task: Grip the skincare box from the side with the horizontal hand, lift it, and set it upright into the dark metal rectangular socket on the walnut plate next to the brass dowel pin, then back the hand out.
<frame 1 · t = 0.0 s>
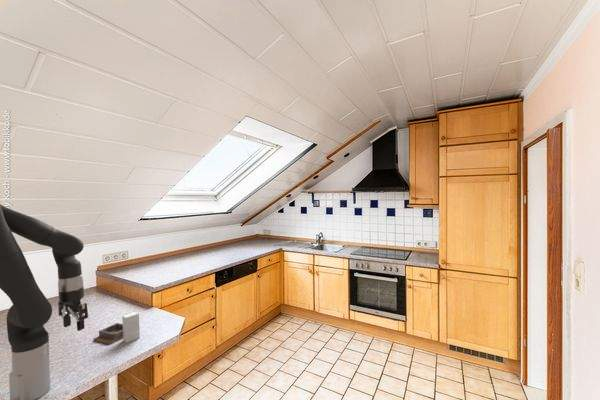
hand: (74, 328, 106), 17 cm above the counter, tool pointing down, fingers open, 8 cm apart
locating plate: (115, 335, 134), on the counter
skincare box: (131, 339, 130), on the counter
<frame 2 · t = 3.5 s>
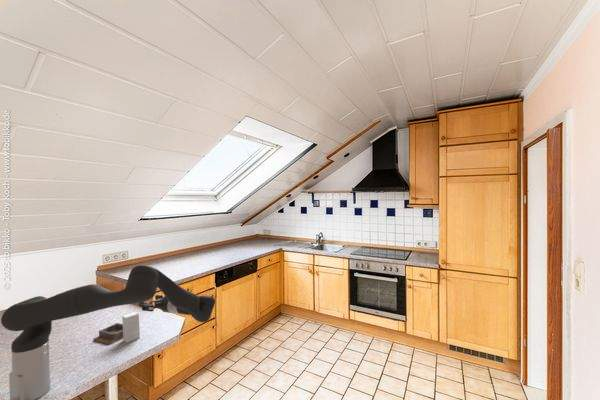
hand: (148, 300, 126), 20 cm above the counter, tool horizontal, fingers open, 8 cm apart
nothing on the counter moved.
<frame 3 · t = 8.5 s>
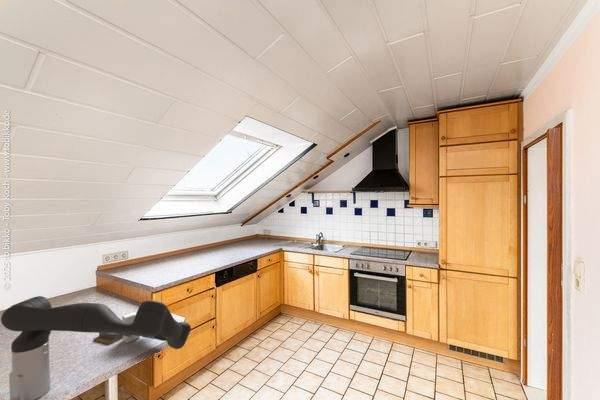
hand: (127, 324, 131), 7 cm above the counter, tool horizontal, fingers closed on skincare box, 7 cm apart
skincare box: (131, 339, 130), on the counter, touching gripper
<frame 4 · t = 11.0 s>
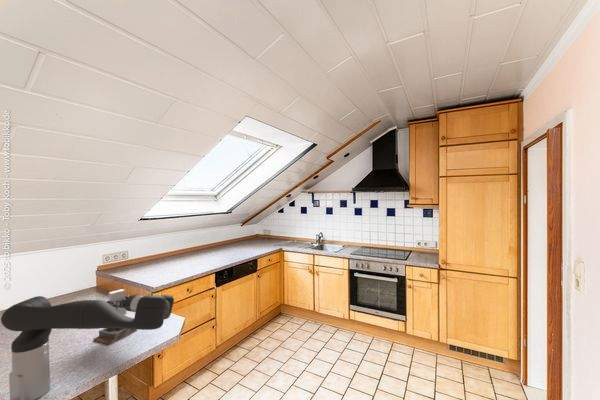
hand: (114, 300, 134), 17 cm above the counter, tool horizontal, fingers closed on skincare box, 7 cm apart
skincare box: (118, 315, 133), point 10 cm above the counter, touching gripper
when the fingers open (10 cm above the counter, at t = 14.0 s): skincare box stays where it is, resting on locating plate.
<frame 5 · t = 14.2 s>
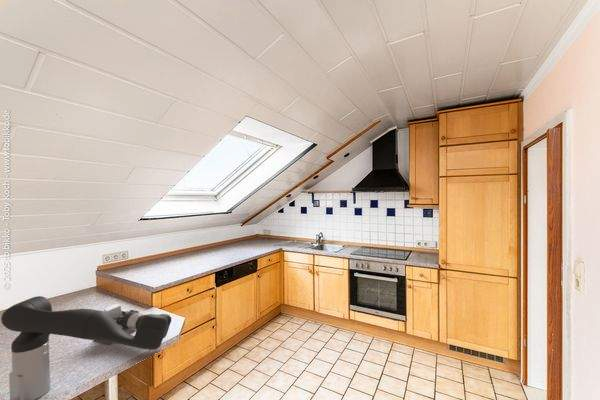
hand: (111, 316, 134), 9 cm above the counter, tool horizontal, fingers open, 8 cm apart
skincare box: (116, 329, 134), point 3 cm above the counter, touching gripper, locating plate
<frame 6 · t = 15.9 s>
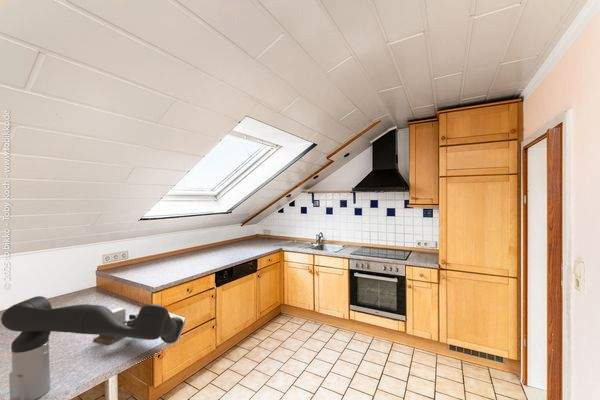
hand: (121, 320, 132), 8 cm above the counter, tool horizontal, fingers open, 8 cm apart
skincare box: (117, 333, 134), point 1 cm above the counter, touching locating plate
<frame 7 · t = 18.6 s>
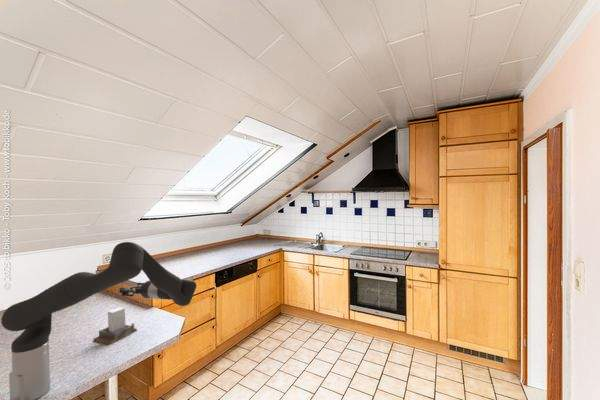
hand: (129, 287, 124), 27 cm above the counter, tool horizontal, fingers open, 8 cm apart
nothing on the counter moved.
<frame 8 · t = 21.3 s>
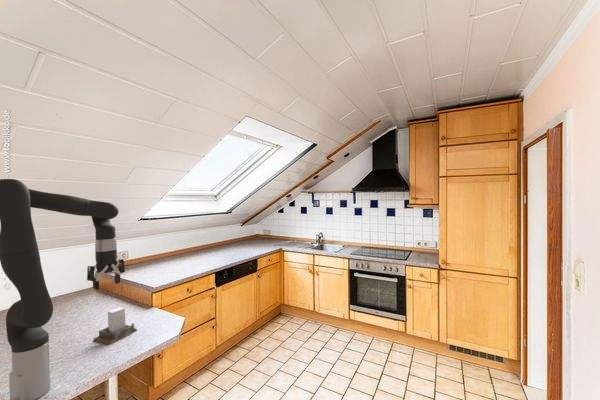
hand: (107, 286, 116), 30 cm above the counter, tool pointing down, fingers open, 8 cm apart
nothing on the counter moved.
at the end: skincare box 0.9 cm off-centre on the locating plate, point 0.8 cm above the locating plate's base; skincare box tilted 0°; the gripper is holding nothing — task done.
